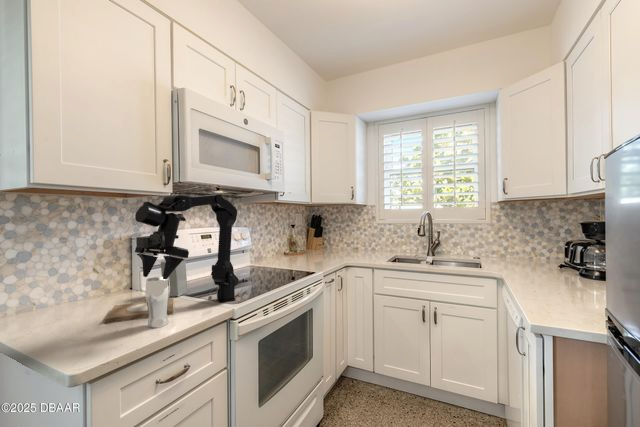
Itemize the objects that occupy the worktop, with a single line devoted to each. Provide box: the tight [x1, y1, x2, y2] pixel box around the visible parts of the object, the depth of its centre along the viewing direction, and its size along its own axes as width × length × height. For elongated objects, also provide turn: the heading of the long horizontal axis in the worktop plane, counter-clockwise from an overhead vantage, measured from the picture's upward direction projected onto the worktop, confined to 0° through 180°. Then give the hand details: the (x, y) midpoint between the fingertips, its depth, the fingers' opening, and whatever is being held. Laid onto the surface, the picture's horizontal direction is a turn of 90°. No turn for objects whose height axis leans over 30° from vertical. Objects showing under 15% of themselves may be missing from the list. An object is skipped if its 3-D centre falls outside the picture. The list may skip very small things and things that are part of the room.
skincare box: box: [160, 259, 188, 297], centre depth 129 cm, size 8×7×16 cm
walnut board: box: [104, 298, 175, 324], centre depth 106 cm, size 20×16×2 cm
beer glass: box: [145, 275, 171, 329], centre depth 94 cm, size 7×7×15 cm
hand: (154, 278), depth 92 cm, fingers open, 9 cm apart
